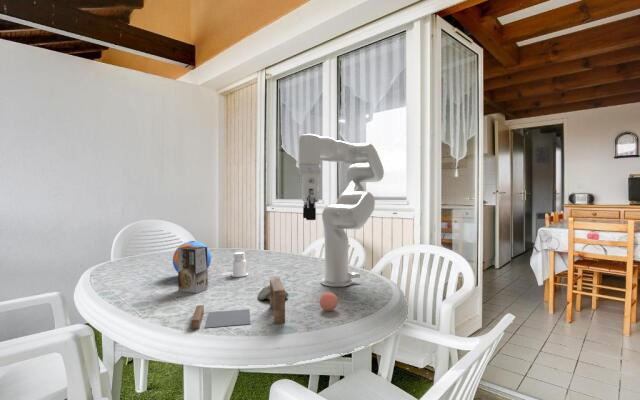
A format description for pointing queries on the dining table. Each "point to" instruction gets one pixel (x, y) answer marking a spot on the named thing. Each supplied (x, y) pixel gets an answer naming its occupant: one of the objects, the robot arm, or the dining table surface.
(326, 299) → the ball
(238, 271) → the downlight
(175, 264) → the treat dispenser ball
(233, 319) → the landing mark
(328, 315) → the dining table surface
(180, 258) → the coffee box
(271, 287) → the bridge
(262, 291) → the fossilized seashell
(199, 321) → the strip
